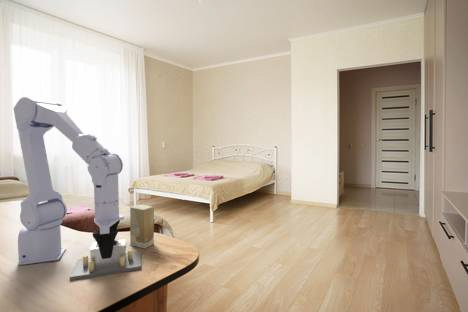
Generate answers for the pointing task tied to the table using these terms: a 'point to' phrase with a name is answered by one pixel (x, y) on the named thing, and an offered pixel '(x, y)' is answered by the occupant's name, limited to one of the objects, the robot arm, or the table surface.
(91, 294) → the table surface
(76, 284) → the table surface
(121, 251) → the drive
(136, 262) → the grey peg board
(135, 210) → the skincare box
